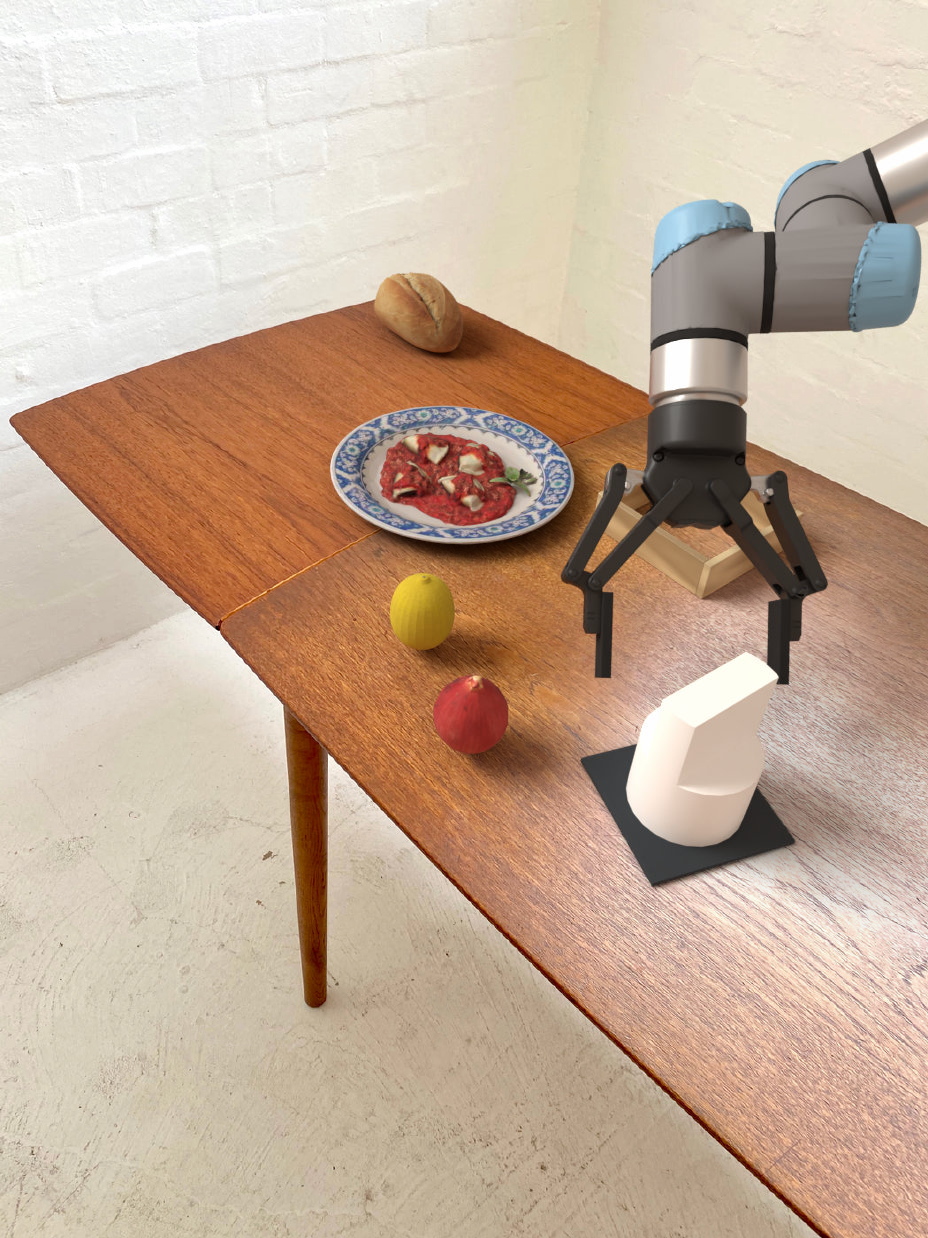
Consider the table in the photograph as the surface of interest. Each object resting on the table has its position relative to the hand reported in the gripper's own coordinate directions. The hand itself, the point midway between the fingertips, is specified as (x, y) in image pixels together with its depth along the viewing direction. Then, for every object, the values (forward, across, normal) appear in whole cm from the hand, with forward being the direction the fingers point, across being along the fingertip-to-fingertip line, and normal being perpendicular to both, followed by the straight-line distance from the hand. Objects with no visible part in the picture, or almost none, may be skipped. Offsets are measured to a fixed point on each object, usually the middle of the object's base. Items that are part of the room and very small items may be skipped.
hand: (690, 682), depth 75 cm
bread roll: (-44, +23, -54) cm, 74 cm away
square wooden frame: (-15, -7, -25) cm, 30 cm away
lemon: (-2, +21, -12) cm, 24 cm away
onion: (+6, +17, -4) cm, 18 cm away
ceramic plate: (-20, +18, -30) cm, 40 cm away
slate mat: (+9, 0, 0) cm, 9 cm away
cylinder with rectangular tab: (+9, 0, 0) cm, 9 cm away
